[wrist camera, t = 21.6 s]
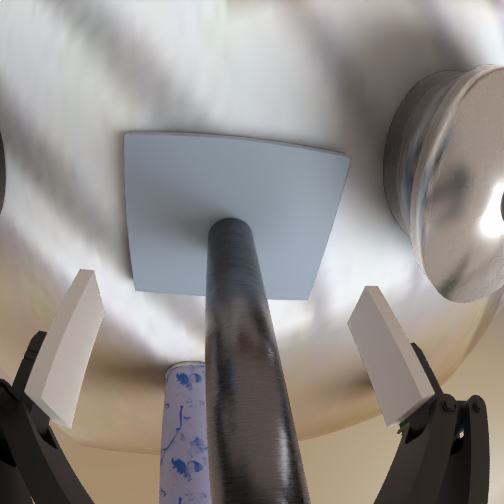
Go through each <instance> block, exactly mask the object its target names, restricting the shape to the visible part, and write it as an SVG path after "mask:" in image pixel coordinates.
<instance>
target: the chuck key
mask: <svg viewBox="0 0 504 504" xmlns="http://www.w3.org/2000/svg"><path fill="white" fill-rule="evenodd" d="M205 389H206V426H207V449H208V467H209V482H210V496H211V504H311V502H310V498H309V492H308V488H307V483H306V478H305V473H304V469H303V464H302V459H301V454H300V450H299V445H298V440H297V435H296V431H295V426H294V421H293V417H292V412H291V407H290V403H289V398H288V393H287V389H286V384H285V380H284V375H283V370H282V366H281V361H280V356H279V352H278V347H277V343H276V338H275V334H274V329H273V324H272V320H271V315H270V311H269V306H268V302H267V297H266V292H265V288H264V283H263V279H262V274H261V270H260V265H259V261H258V256H257V252H256V247H255V243H254V238H253V234H252V230H251V228H250V227H249V225H248V224H247V223H246V222H244V221H243V220H241V219H238V218H224V219H221V220H219V221H217V222H216V223H215V224H214V225H213V226H212V227H211V228H210V230H209V233H208V245H207V271H206V310H205Z"/></svg>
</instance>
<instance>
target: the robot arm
mask: <svg viewBox="0 0 504 504" xmlns="http://www.w3.org/2000/svg"><path fill="white" fill-rule="evenodd" d="M5 178H6V175H5V158H4V149H3V143H2V138H1V133H0V213H1V210H2V206H3V201H4V195H5ZM104 314H105V311H104V307H103V304H102V300H101V296H100V293H99V289H98V285H97V281H96V277H95V273H94V270H84V269H80V270H79V272H78V274H77V276H76V277H75V279H74V281H73V283H72V285H71V286H70V288H69V290H68V292H67V294H66V296H65V298H64V300H63V301H62V303H61V305H60V307H59V309H58V311H57V313H56V315H55V317H54V320H53V322H52V324H51V326H50V328H49V330H48V332H43V331H39V332H38V333H37V334H36V335H35V336H34V337H33V338H32V339H31V341H30V344H29V346H28V348H27V351H26V353H25V355H24V359H23V360H22V362H21V364H20V367H19V369H18V372H17V375H16V377H15V380H14V382H13V385H12V387H11V386H10V384H9V383H8V382H6V381H5V380H3V379H0V504H33V501H32V498H33V500H34V502H35V504H94V502H93V501H92V499H91V498H90V497H89V495H88V493H87V492H86V490H85V489H84V487H83V486H82V485H81V483H80V481H79V479H78V478H77V476H76V475H75V473H74V471H73V469H72V468H71V466H70V464H69V463H68V461H67V459H66V457H65V455H64V453H63V451H62V449H61V448H60V446H59V444H58V442H57V440H56V437H55V436H54V433H53V431H52V429H51V427H50V426H49V420H50V419H51V420H52V421H53V422H54V423H55V424H58V425H61V426H64V427H68V428H72V423H73V418H74V414H75V410H76V405H77V401H78V397H79V393H80V390H81V386H82V382H83V378H84V375H85V371H86V368H87V365H88V361H89V358H90V355H91V352H92V349H93V345H94V342H95V339H96V336H97V333H98V331H99V328H100V325H101V322H102V319H103V316H104ZM347 324H348V326H349V328H350V331H351V333H352V336H353V338H354V340H355V343H356V345H357V348H358V350H359V353H360V355H361V358H362V360H363V363H364V365H365V368H366V370H367V373H368V376H369V378H370V381H371V384H372V386H373V389H374V392H375V394H376V397H377V400H378V402H379V405H380V408H381V411H382V414H383V416H384V419H385V422H386V425H387V427H391V426H394V425H397V424H400V423H402V422H403V421H404V420H405V419H407V418H408V420H409V422H408V423H407V424H406V425H405V426H403V427H402V428H401V429H399V430H398V432H397V433H398V434H399V433H401V432H402V431H403V430H404V433H402V439H401V441H400V444H399V447H398V450H397V452H396V455H395V457H394V460H393V462H392V465H391V467H390V470H389V472H388V474H387V477H386V479H385V481H384V483H383V486H382V488H381V490H380V492H379V494H378V496H377V498H376V500H375V502H374V504H487V503H488V491H489V469H490V468H489V467H490V465H489V464H490V463H489V462H490V456H489V433H488V420H487V411H486V405H485V402H484V401H483V399H482V398H481V397H480V396H478V395H473V396H471V397H470V398H469V399H468V400H467V401H456V400H455V399H454V397H452V396H451V395H449V394H444V393H443V392H442V390H441V388H440V386H439V384H438V382H437V380H436V377H435V375H434V373H433V371H432V369H431V367H429V364H428V362H427V361H426V358H425V356H424V354H423V352H422V350H421V349H420V348H419V347H418V346H417V345H416V344H415V343H410V342H409V340H408V338H407V336H406V335H405V333H404V331H403V329H402V327H401V326H400V324H399V322H398V320H397V318H396V317H395V315H394V313H393V311H392V310H391V308H390V306H389V304H388V303H387V301H386V299H385V298H384V296H383V294H382V293H381V291H380V289H379V288H378V286H365V288H364V290H363V292H362V295H361V297H360V299H359V301H358V303H357V305H356V307H355V309H354V311H353V313H352V315H351V317H350V319H349V320H348V322H347ZM463 431H464V436H463V437H462V438H460V433H461V432H463ZM31 497H32V498H31Z"/></svg>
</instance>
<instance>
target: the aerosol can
mask: <svg viewBox="0 0 504 504" xmlns="http://www.w3.org/2000/svg"><path fill="white" fill-rule="evenodd" d="M165 380H166V388H165V399H164V410H163V423H162V438H161V458H160V497H159V500H160V501H159V502H160V504H211V496H210V482H209V467H208V449H207V426H206V389H205V362H198V361H194V362H182V363H177V364H175V365H173V366H171V367H169V368H168V370H167V371H166V374H165Z"/></svg>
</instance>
